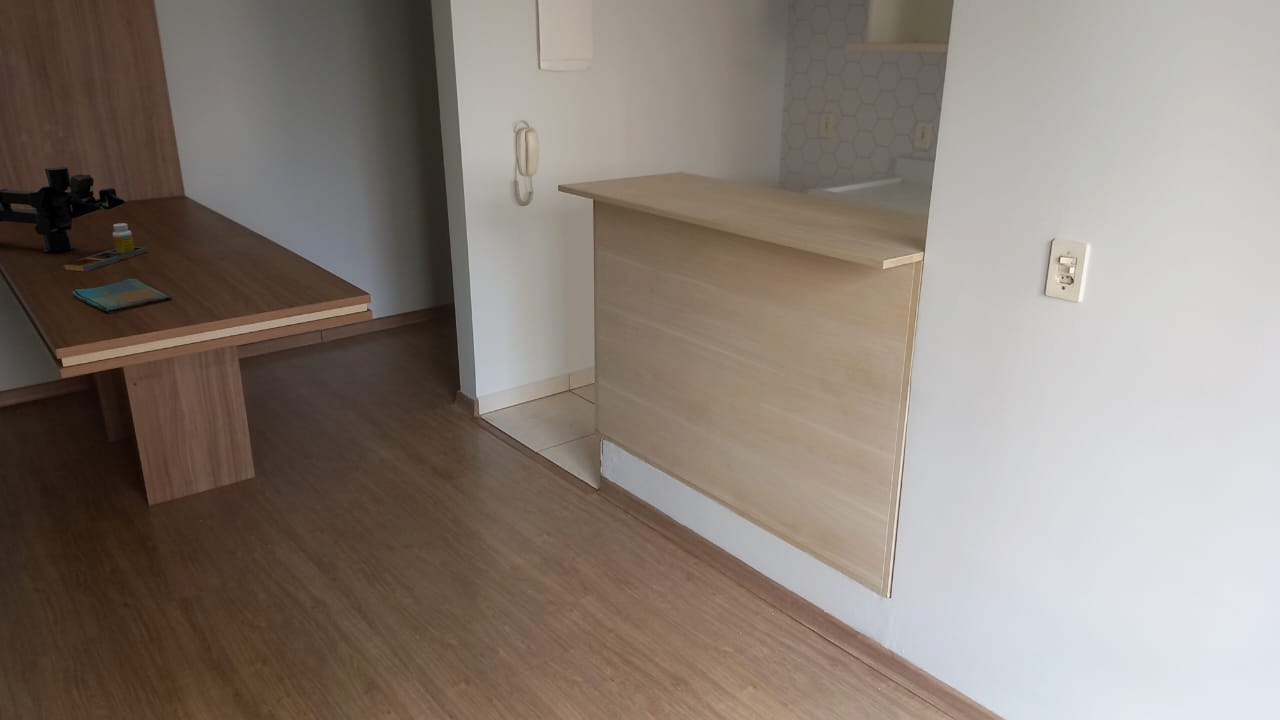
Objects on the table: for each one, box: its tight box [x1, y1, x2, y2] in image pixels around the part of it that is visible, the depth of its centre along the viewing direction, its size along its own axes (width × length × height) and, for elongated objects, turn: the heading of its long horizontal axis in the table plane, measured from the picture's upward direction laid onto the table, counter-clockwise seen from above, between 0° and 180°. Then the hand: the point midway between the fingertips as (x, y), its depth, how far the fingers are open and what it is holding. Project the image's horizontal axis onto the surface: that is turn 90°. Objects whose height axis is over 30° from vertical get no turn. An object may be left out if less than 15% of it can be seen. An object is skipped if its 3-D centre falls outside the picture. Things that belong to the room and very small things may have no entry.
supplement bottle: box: [112, 222, 136, 253], centre depth 286 cm, size 5×5×10 cm
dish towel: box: [71, 278, 173, 314], centre depth 245 cm, size 17×23×2 cm
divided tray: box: [61, 246, 149, 273], centre depth 281 cm, size 9×24×2 cm, turn 164°
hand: (112, 204), depth 279 cm, fingers open, 9 cm apart
